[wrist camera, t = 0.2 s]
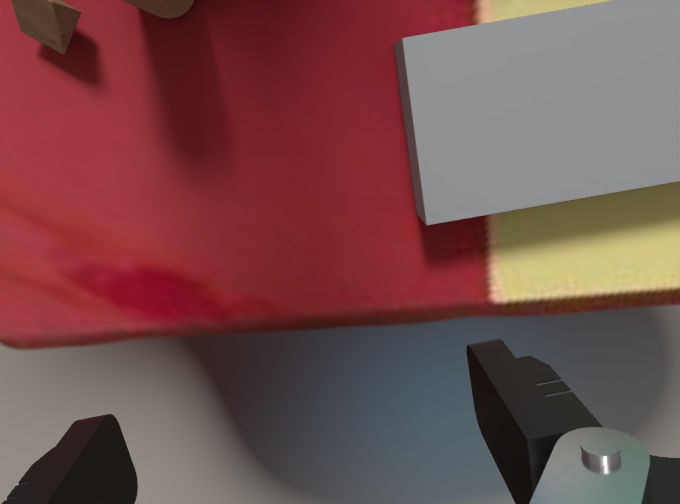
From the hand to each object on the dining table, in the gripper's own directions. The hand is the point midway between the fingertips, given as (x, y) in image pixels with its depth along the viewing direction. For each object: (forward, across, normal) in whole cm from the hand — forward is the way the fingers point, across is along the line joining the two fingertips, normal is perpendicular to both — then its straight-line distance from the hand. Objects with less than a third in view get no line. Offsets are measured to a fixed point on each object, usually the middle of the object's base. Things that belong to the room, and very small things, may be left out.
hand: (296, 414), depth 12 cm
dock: (+29, -20, -3) cm, 36 cm away
